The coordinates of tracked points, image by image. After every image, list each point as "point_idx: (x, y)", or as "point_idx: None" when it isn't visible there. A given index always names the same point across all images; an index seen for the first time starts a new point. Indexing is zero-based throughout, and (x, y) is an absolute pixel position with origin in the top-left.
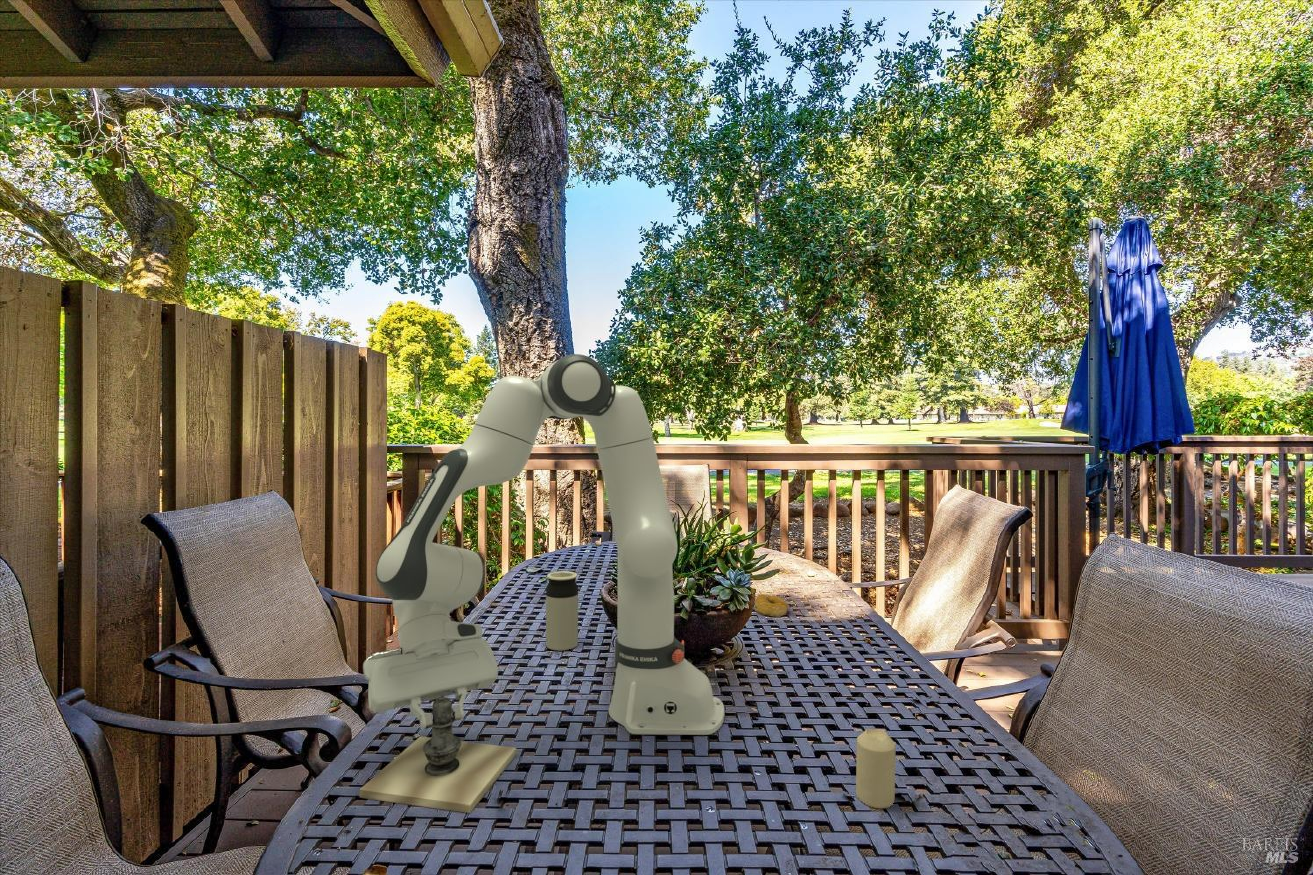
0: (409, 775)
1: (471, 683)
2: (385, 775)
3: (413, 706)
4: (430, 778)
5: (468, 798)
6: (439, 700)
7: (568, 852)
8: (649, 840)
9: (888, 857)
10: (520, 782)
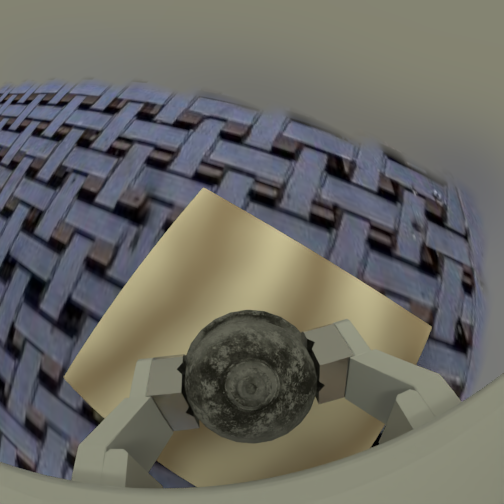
0: None
1: (30, 471)
2: None
3: (431, 372)
4: None
5: (202, 207)
6: (274, 370)
7: (114, 98)
8: (46, 107)
9: None
10: (92, 262)
